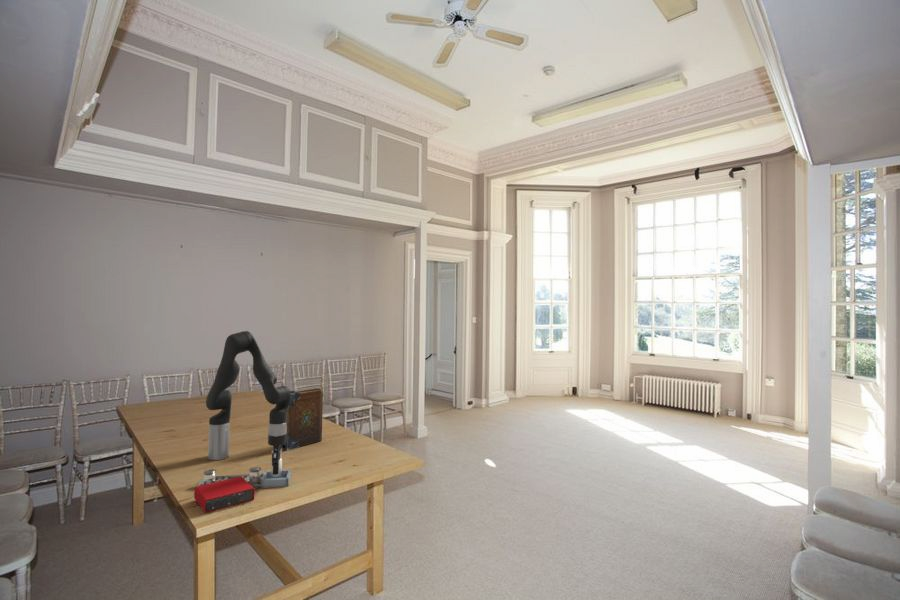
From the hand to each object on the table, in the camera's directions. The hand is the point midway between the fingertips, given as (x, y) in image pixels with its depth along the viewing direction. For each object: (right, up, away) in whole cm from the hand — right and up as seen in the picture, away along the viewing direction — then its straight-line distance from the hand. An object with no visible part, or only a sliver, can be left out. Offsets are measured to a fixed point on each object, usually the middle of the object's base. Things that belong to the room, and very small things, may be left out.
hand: (276, 472), depth 195 cm
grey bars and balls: (-18, -4, -4) cm, 18 cm away
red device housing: (-13, -4, -20) cm, 24 cm away
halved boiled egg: (0, -1, 0) cm, 1 cm away
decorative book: (-6, -5, +53) cm, 54 cm away
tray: (0, -4, 0) cm, 4 cm away
